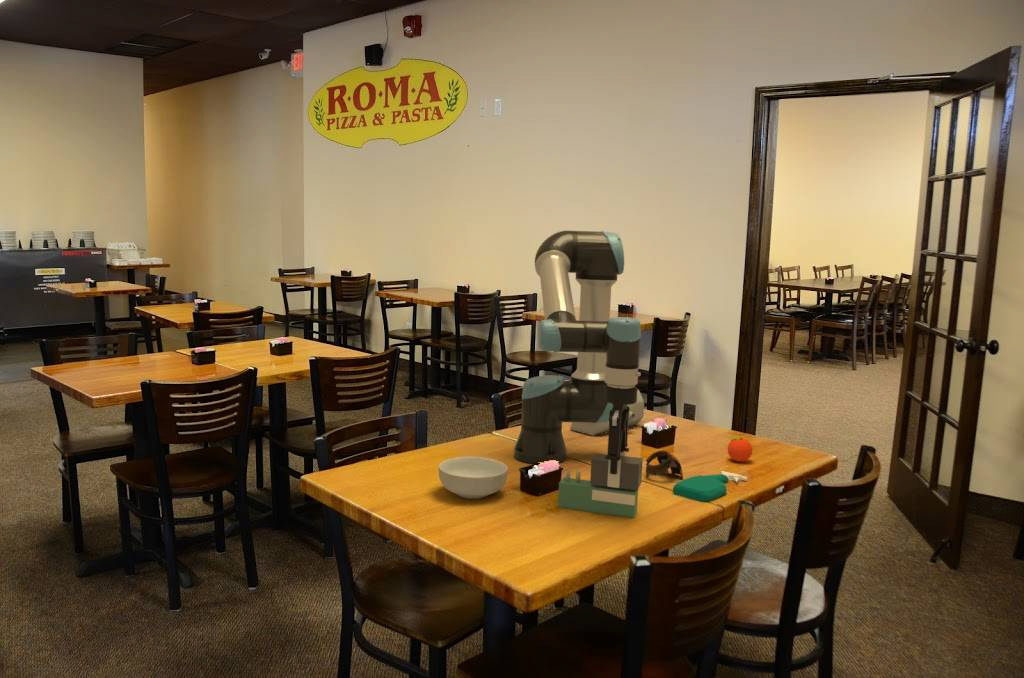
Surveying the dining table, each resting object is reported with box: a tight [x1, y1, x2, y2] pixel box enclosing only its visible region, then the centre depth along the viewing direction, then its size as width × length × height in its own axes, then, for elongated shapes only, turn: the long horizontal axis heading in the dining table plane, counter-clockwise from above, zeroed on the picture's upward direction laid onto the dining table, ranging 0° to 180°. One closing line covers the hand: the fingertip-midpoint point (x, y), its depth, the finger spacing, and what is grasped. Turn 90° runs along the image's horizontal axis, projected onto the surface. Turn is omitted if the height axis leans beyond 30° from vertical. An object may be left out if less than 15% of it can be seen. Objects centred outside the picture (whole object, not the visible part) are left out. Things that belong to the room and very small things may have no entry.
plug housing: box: [589, 452, 643, 491], centre depth 187 cm, size 11×6×6 cm, turn 73°
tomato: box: [724, 437, 753, 463], centre depth 233 cm, size 8×7×7 cm
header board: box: [557, 469, 639, 519], centre depth 189 cm, size 18×5×8 cm, turn 73°
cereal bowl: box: [438, 456, 509, 500], centre depth 197 cm, size 17×17×7 cm
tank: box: [569, 389, 645, 437], centre depth 264 cm, size 25×16×12 cm, turn 135°
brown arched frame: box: [645, 449, 684, 481], centre depth 217 cm, size 12×10×8 cm
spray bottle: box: [672, 470, 749, 502], centre depth 208 cm, size 3×11×24 cm
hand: (615, 482), depth 187 cm, fingers closed on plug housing, 6 cm apart
